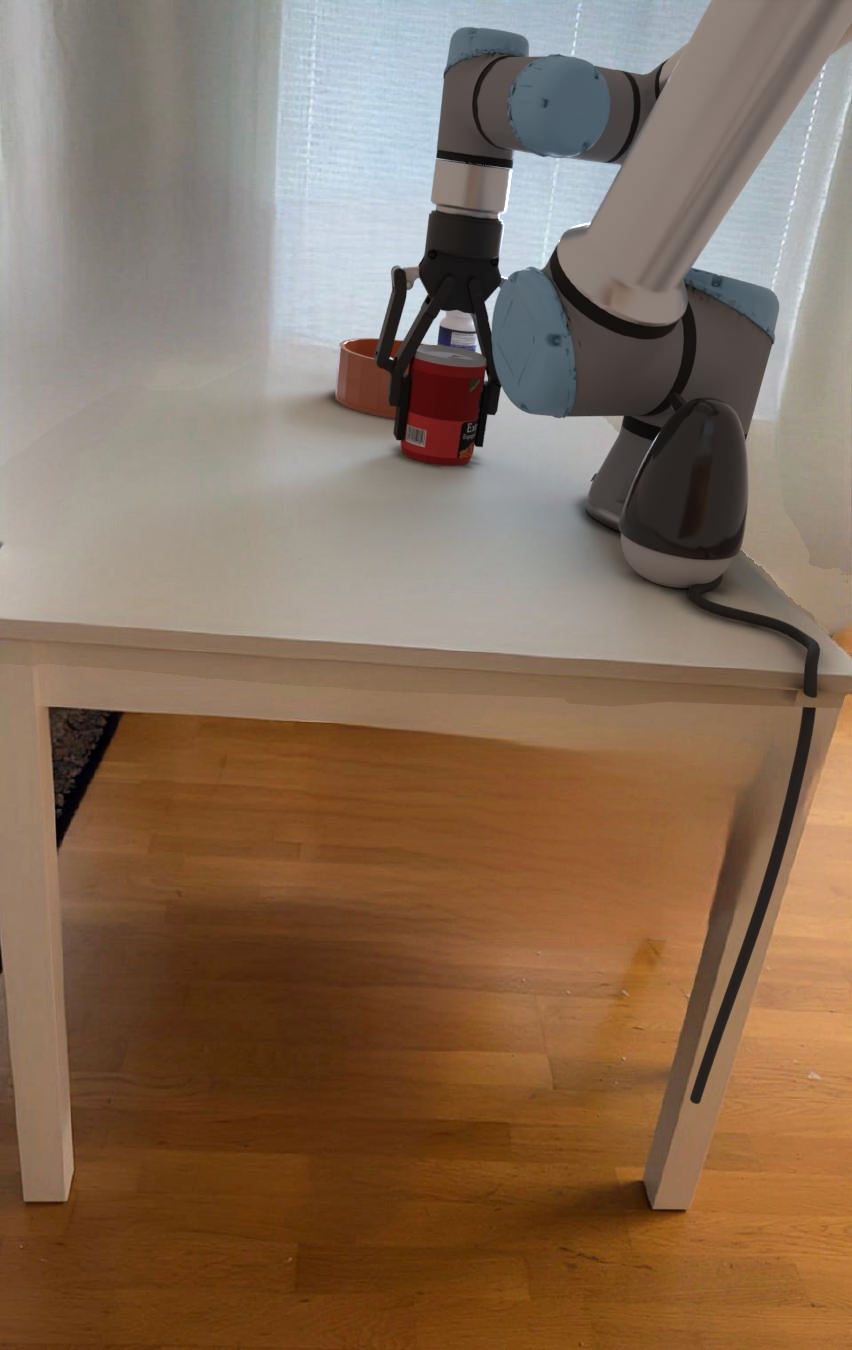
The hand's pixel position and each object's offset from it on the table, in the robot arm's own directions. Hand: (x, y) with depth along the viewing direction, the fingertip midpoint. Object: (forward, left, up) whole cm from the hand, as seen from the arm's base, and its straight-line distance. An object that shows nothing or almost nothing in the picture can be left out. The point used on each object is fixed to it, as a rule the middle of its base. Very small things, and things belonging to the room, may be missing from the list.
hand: (437, 440), depth 115 cm
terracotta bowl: (+23, +1, -2) cm, 23 cm away
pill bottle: (+45, -10, -2) cm, 46 cm away
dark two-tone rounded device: (-32, -15, -2) cm, 35 cm away
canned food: (0, 0, -2) cm, 2 cm away
